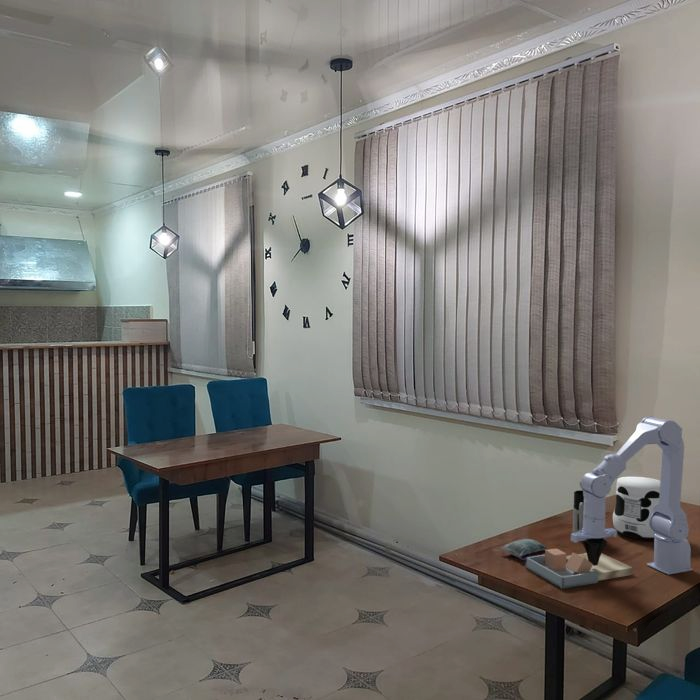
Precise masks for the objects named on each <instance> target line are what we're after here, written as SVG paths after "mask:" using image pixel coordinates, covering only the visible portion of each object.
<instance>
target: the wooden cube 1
mask: <svg viewBox="0 0 700 700" xmlns="http://www.w3.org/2000/svg"><path fill="white" fill-rule="evenodd" d="M547 549H548V548H547ZM544 555H545V565H546V566H547V567H549V568H551V569H552V570H554V571H556V570H564V569H566V567H565V565H566V556H567V553H566V552H564V551H563V550H560V549H559V548H550V549H548V550H545V554H544Z"/></svg>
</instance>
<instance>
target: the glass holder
mask: <svg viewBox="0 0 700 700" xmlns="http://www.w3.org/2000/svg"><path fill="white" fill-rule="evenodd" d="M572 507H573V509H572V512H573V513H572V533H571V534H573V533H576V532H579V531H581V530H582V528H583V518H584V496H583V490H582V489H581V490H575V491H573V505H572ZM579 542H580V543H582V542H581V541H579Z"/></svg>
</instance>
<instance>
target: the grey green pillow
mask: <svg viewBox="0 0 700 700" xmlns="http://www.w3.org/2000/svg"><path fill="white" fill-rule="evenodd" d="M500 549H501V550H504V551H506V552H507V553H508V554H510V555H512V556H514V557H516V558H518V559H519V560H522V561H526V557H532V556H539V555H545V550H548V548H547V546H545V545H544V544H543V543H541V542H539V541H537V540H534V539H532V538H522V539H518V540H514V541H512V542H509V543H507V544H505V545H504V546H500Z"/></svg>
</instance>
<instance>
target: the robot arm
mask: <svg viewBox="0 0 700 700" xmlns="http://www.w3.org/2000/svg"><path fill="white" fill-rule="evenodd" d="M682 434H683V427H681V425H679V423H677V422H676V421H674V420H669V419H665V418H664V419H663V418H658V417H655V416H653V415H652V416H651V415H650V416H646V417H644V418H643V419H641V421H640V422H639V423H637V425H636V429H635V431H634V432H633V434H631V436H629V438H628V439H627V441H625V443H624V444H623V445H622V446H621V447H620V449H619V450H618V451H617V452H616V453H611V454H608V455H605V456H604V457H603V460H602V461H601V462H600V463H599V464H598V465H597V466H596V467H594V468H593V469H592V471H591V472H587V473H585V474H584V475H583V476H582V478H581V481H579V486H580V489H581V490H583V496H584V518H583V528H582V530H581V531H579V532H576V533H573V532H572V533H573V534H572V533H570V541H571V542H573V543H575V544H576V543H579V542H580V541H581V542H580V543H581V544H582V546H583V547H584V549H585V553H587V556H588V561H589V562H591V563H592V564H593V566H596V565H598V562H599V559H600V556H601V553H602V554H603V551H604V550H605V548H606V546H607V545H608V541H607V540H606V539H604V538H611V537H612V538H617V537H618V536H617V535H618V533H617V532H618V531H617V530H616V529H615V528H612V527H611V528H606V503H607V499H606V498H607V497H606V496H607V495H609V494H610V492H611V489H612V485H613V484H614V482H615V480H616V479H618V478H619V477H620V475H622V474H623V472H625V471H626V469H627V462H628V461H630V460H631V459H632V458H633V457H634V456H635V455H637V453H639V452H640V451H641V450H642V449H643V448H644V447H645V446H647V445H657V446H658V447H659V448H660V449H661V450H662V453H661V454H662V456H661V467H660V468H661V469H660V495H659V503H658V504H657V505H656V506H654V507H653V512H652V515H651V517H650V519H649V526H650V528H651V529H652V530H653V535H655V538H654V539H653V541H654V542H653V543H654V548H653V562H648V563H646V565H647V567H650V568H653V569H655V570H656V571H660V572H661V573H664V574H667V575H674V574H680V573H685V572H686V573H687V572H690V571H693V567H691V555H692V553H691V552H692V551H691V550H692V549H691V545H690V542H689V541H688V539H686V538H687V537H688V535H689V533H690V532H689V531H690V528H689V525H688V520H687V519H688V516H687V514H686V512H685V511H684V510H683V508H682V507H681V498H682V485H683V471H684V470H683V469H684V457H685V456H684V454H685V443H684V440H683V437H682V436H683V435H682Z"/></svg>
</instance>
